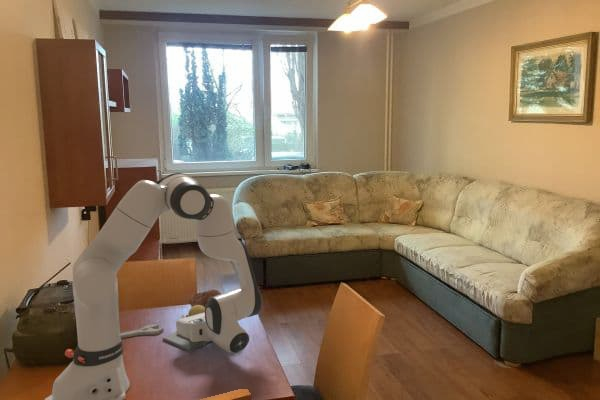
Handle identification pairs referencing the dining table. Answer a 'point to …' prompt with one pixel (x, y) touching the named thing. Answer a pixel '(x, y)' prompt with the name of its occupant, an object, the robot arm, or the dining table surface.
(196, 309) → the light bulb
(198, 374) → the dining table surface
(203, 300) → the decorative rock
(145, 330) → the adjustable wrench
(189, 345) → the board
